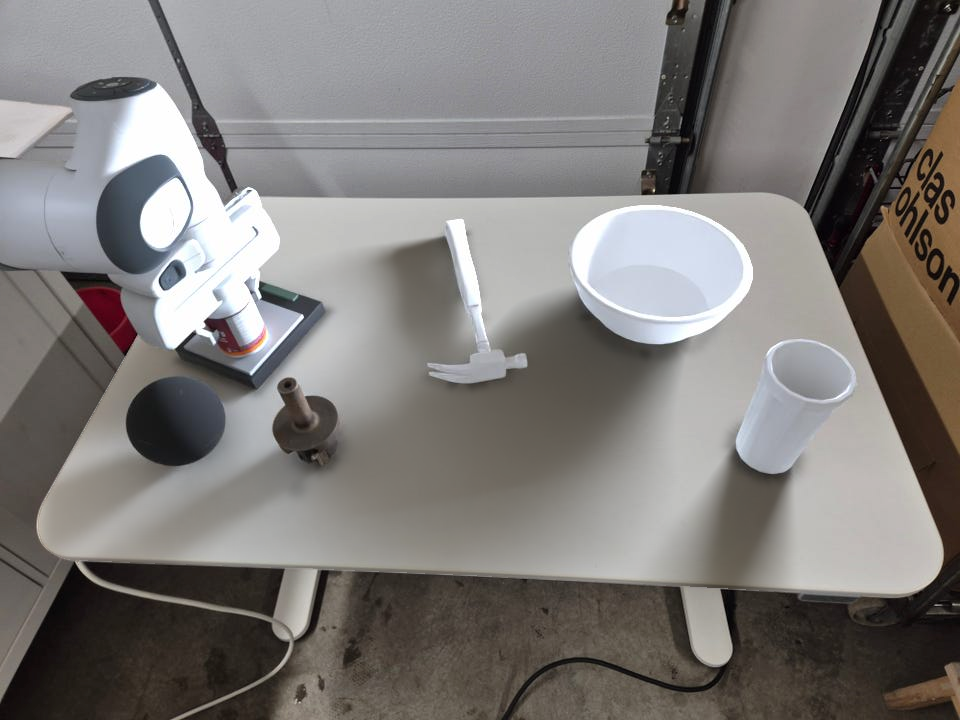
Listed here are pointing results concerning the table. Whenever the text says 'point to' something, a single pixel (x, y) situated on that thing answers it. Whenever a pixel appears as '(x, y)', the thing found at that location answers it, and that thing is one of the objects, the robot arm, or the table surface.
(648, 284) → the bowl
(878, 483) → the table surface
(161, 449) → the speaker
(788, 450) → the cup
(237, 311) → the pill bottle
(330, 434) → the industrial component
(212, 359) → the scale
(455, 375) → the hammer
